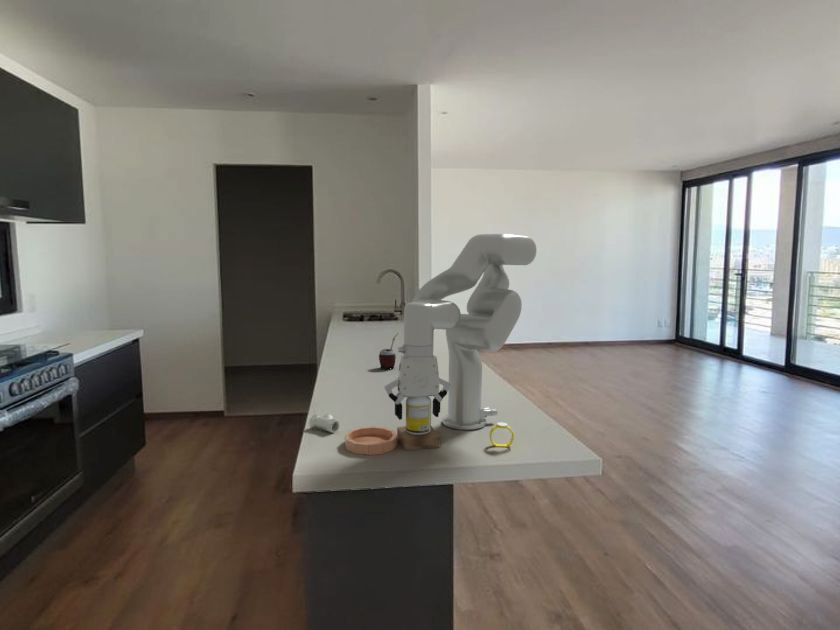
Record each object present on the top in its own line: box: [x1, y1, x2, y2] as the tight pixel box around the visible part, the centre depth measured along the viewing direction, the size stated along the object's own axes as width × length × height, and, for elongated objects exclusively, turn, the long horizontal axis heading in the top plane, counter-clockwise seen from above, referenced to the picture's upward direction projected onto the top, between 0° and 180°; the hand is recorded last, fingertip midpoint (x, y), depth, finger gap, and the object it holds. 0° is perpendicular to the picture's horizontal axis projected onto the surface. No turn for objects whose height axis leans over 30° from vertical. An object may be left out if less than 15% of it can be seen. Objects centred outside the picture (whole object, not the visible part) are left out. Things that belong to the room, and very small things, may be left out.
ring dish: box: [344, 426, 398, 456], centre depth 129 cm, size 13×13×2 cm
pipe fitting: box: [308, 413, 340, 434], centre depth 141 cm, size 8×4×7 cm
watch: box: [489, 421, 515, 448], centre depth 129 cm, size 6×3×6 cm, turn 86°
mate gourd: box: [378, 332, 399, 371], centre depth 216 cm, size 8×8×15 cm
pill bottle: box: [405, 396, 432, 435], centre depth 130 cm, size 6×6×12 cm
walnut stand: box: [396, 425, 441, 452], centre depth 131 cm, size 9×9×3 cm
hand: (417, 416), depth 130 cm, fingers open, 9 cm apart
